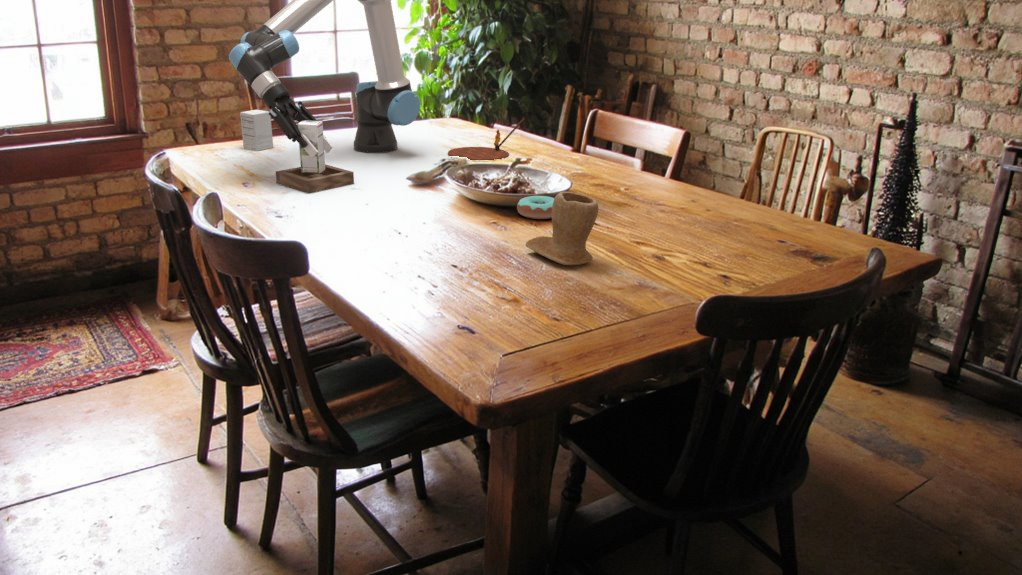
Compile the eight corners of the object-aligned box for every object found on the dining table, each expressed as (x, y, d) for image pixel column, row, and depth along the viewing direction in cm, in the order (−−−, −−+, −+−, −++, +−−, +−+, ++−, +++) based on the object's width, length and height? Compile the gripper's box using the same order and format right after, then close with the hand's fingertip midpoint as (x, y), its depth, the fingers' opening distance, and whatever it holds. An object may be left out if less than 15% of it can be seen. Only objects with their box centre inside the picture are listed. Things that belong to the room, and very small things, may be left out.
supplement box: (260, 145, 297) (256, 109, 292) (274, 148, 293) (270, 111, 288) (242, 148, 291) (239, 111, 287) (256, 151, 287) (253, 114, 283)
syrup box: (325, 169, 249) (323, 120, 244) (319, 174, 244) (316, 123, 239) (307, 168, 250) (303, 119, 245) (300, 173, 244) (297, 123, 239)
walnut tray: (321, 174, 259) (320, 163, 257) (354, 183, 249) (353, 171, 247) (276, 183, 248) (275, 171, 246) (308, 193, 238) (307, 181, 236)
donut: (509, 217, 219) (510, 202, 218) (526, 206, 230) (526, 192, 228) (553, 223, 215) (553, 208, 214) (567, 211, 226) (568, 197, 224)
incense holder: (436, 153, 292) (435, 120, 287) (506, 144, 308) (507, 113, 304) (469, 164, 276) (469, 130, 272) (542, 154, 292) (543, 122, 288)
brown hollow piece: (606, 263, 187) (610, 197, 181) (562, 272, 181) (565, 205, 175) (565, 244, 199) (568, 182, 193) (523, 252, 193) (525, 188, 187)
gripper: (285, 95, 254) (334, 154, 254) (242, 104, 236) (295, 167, 237) (298, 78, 250) (348, 138, 250) (256, 86, 233) (309, 150, 233)
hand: (322, 152), depth 243 cm, fingers closed on syrup box, 7 cm apart
